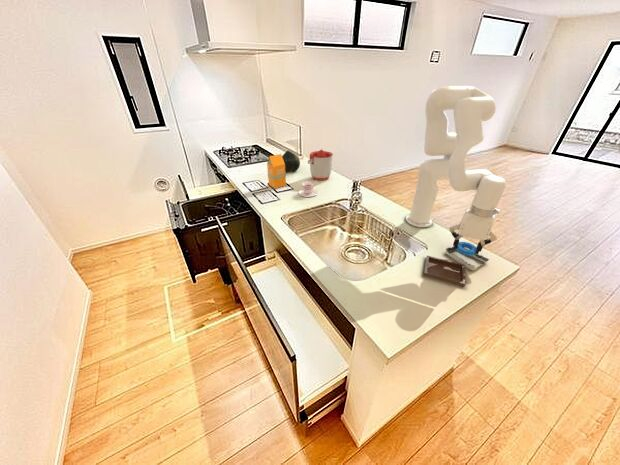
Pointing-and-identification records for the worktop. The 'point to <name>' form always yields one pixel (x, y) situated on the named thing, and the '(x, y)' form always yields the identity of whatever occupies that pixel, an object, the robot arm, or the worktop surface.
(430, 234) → the worktop surface
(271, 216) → the worktop surface
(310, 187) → the teacup
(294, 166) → the squash
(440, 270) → the tray
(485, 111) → the robot arm
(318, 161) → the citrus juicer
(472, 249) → the ring
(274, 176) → the orange juice
